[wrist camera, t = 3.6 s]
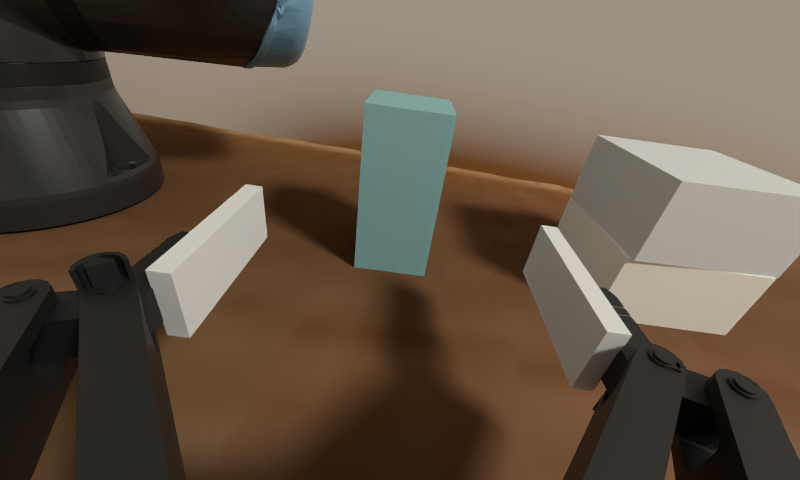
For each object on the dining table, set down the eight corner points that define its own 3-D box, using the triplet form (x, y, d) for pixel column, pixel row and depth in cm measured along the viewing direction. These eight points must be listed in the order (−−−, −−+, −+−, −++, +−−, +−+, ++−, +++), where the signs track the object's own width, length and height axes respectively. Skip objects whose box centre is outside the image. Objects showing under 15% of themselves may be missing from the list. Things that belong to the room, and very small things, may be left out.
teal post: (354, 267, 24) (364, 102, 18) (364, 231, 28) (375, 89, 22) (424, 276, 24) (457, 115, 18) (423, 239, 28) (450, 100, 22)
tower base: (591, 319, 22) (627, 258, 20) (549, 246, 30) (570, 196, 28) (723, 337, 23) (776, 279, 20) (647, 260, 30) (678, 211, 28)
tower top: (633, 260, 20) (682, 181, 17) (570, 196, 27) (597, 134, 25) (778, 278, 20) (847, 202, 17) (676, 210, 28) (713, 150, 25)
